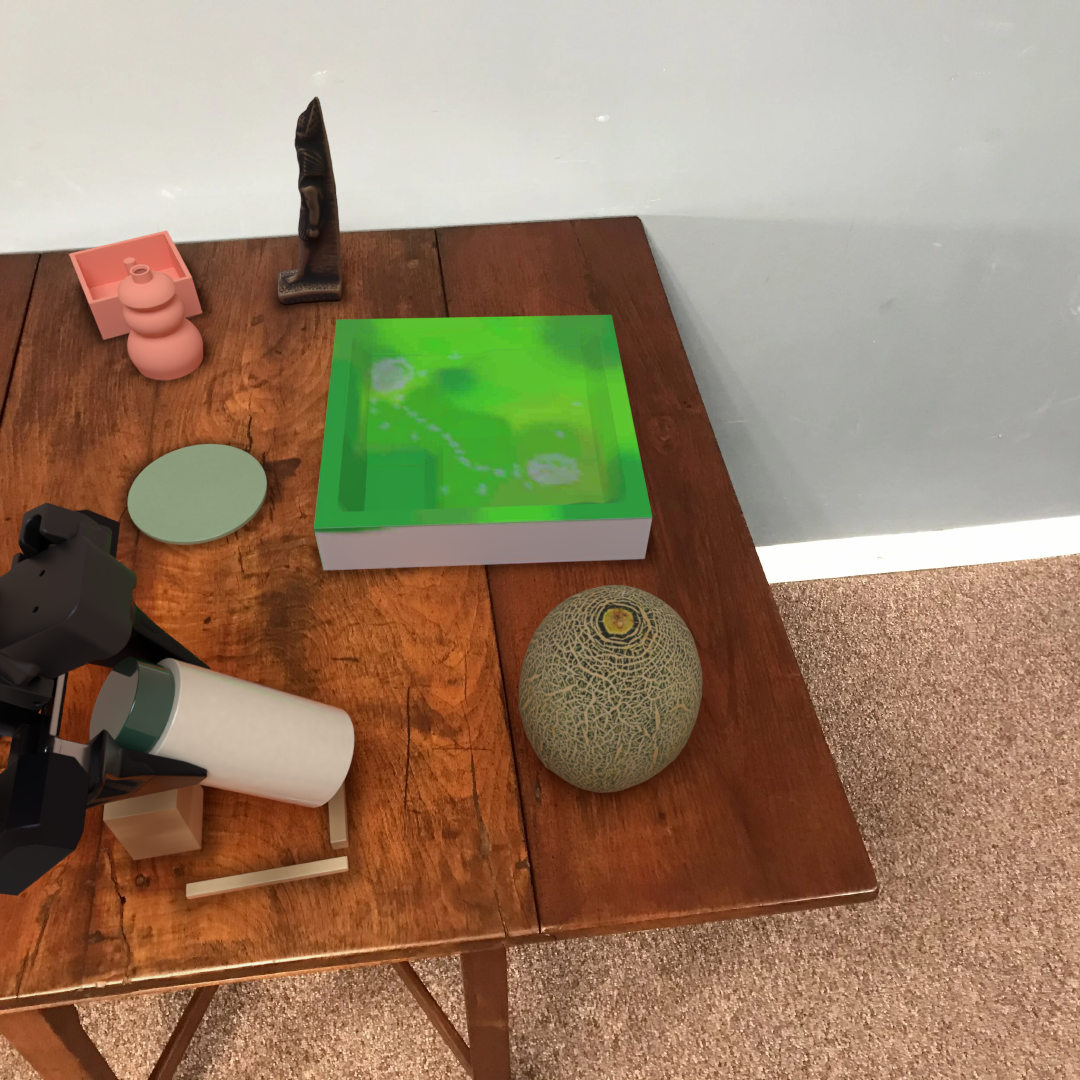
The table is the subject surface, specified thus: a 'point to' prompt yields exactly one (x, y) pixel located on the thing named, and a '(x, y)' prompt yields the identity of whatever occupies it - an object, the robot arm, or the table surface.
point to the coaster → (197, 494)
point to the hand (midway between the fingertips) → (205, 724)
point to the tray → (478, 445)
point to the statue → (314, 217)
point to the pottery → (144, 302)
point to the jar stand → (178, 828)
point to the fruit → (610, 688)
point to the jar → (228, 729)
